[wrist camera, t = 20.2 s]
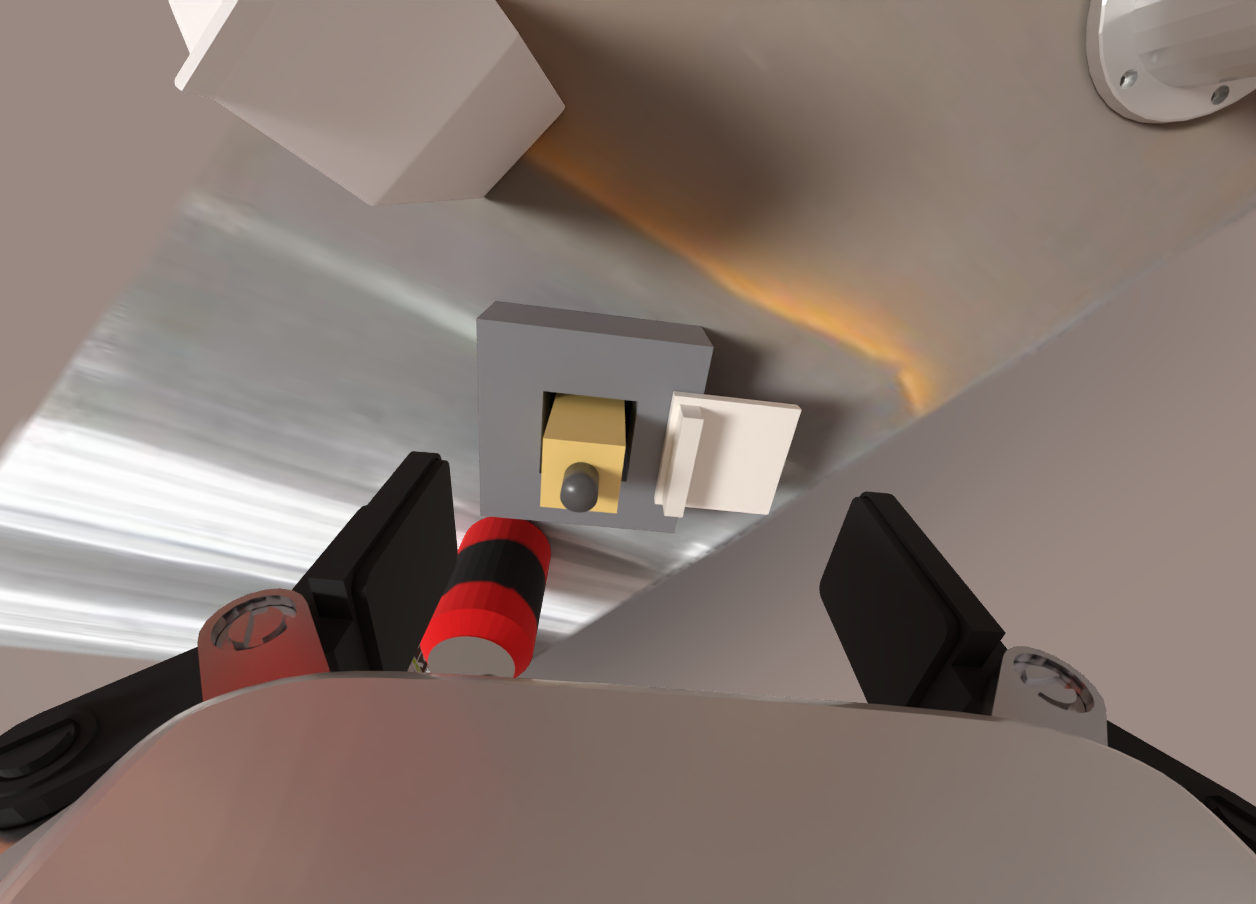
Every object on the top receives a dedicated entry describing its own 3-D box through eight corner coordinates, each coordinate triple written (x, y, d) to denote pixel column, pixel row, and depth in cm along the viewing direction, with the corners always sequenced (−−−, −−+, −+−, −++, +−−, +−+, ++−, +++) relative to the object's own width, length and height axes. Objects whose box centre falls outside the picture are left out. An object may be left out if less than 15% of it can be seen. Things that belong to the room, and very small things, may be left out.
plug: (624, 382, 36) (626, 464, 25) (617, 437, 38) (616, 534, 27) (562, 375, 35) (537, 455, 25) (558, 431, 37) (534, 527, 27)
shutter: (797, 404, 31) (812, 423, 29) (764, 508, 35) (776, 532, 32) (673, 390, 30) (678, 408, 28) (654, 497, 34) (657, 521, 32)
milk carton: (567, 108, 28) (489, -15, 11) (482, 199, 30) (308, 213, 13) (470, -21, 25) (174, -443, 8) (385, 89, 27) (10, -70, 10)
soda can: (499, 592, 45) (463, 716, 34) (445, 536, 42) (387, 653, 31) (568, 559, 43) (552, 679, 33) (517, 498, 40) (481, 608, 30)
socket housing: (701, 326, 34) (713, 347, 29) (668, 495, 40) (674, 533, 36) (495, 301, 33) (476, 318, 28) (496, 479, 39) (480, 515, 35)
